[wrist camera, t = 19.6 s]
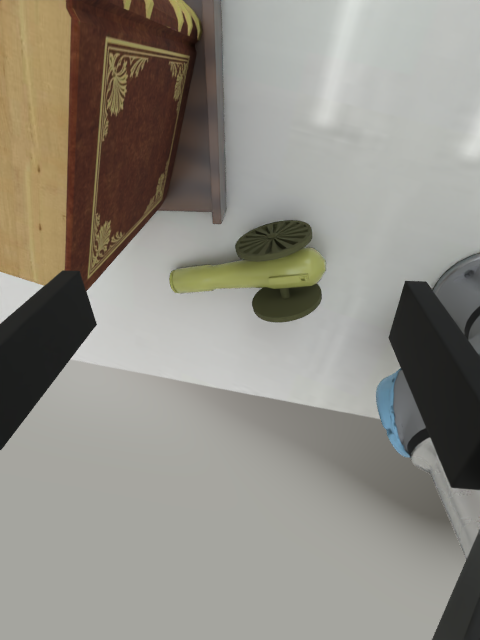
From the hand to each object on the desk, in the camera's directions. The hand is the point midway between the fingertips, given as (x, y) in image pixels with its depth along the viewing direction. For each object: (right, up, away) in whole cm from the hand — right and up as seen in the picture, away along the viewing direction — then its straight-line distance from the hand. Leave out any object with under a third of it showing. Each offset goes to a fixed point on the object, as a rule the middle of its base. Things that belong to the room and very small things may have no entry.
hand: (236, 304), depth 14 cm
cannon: (+1, +9, +43) cm, 44 cm away
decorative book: (-11, +27, +30) cm, 42 cm away
